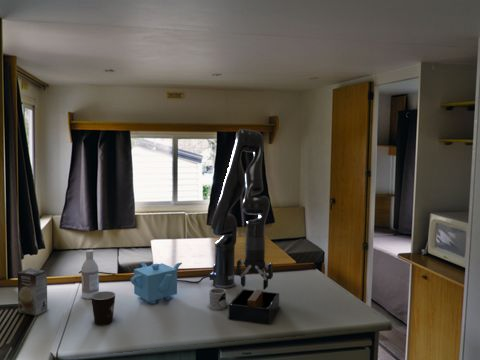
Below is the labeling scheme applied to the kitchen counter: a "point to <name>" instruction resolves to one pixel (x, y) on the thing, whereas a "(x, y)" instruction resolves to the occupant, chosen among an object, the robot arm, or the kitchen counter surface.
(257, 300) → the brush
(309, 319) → the kitchen counter surface
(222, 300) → the mug
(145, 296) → the teakettle
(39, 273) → the coffee box
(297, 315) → the kitchen counter surface
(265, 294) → the black open box
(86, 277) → the bath foam
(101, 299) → the coffee mug
